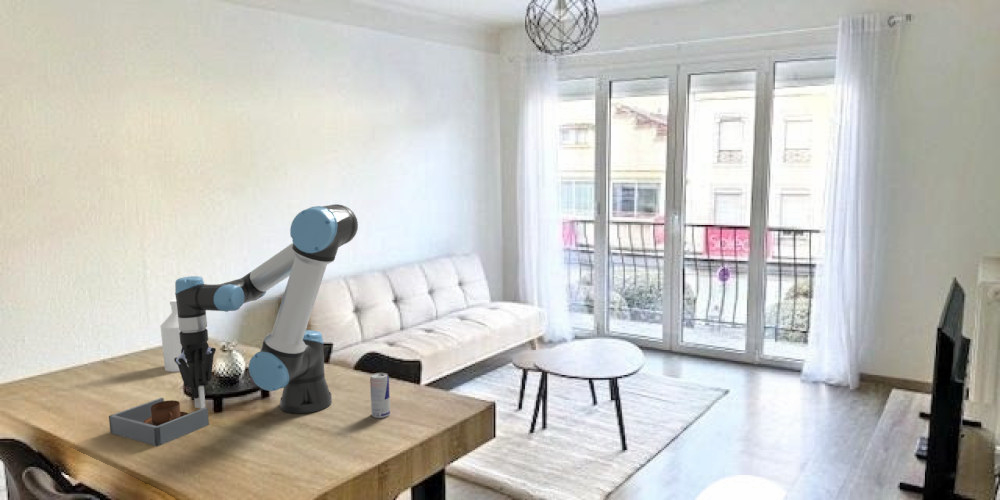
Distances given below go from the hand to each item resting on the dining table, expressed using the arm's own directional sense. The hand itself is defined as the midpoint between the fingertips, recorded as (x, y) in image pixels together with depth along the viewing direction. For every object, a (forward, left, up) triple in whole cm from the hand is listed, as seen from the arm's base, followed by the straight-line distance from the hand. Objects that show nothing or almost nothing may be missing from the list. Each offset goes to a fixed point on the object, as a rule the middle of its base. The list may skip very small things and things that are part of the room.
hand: (200, 407), depth 198 cm
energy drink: (-49, -22, -2) cm, 54 cm away
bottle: (+47, -29, -2) cm, 55 cm away
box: (+1, +13, -2) cm, 13 cm away
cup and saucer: (+1, +10, -2) cm, 11 cm away
